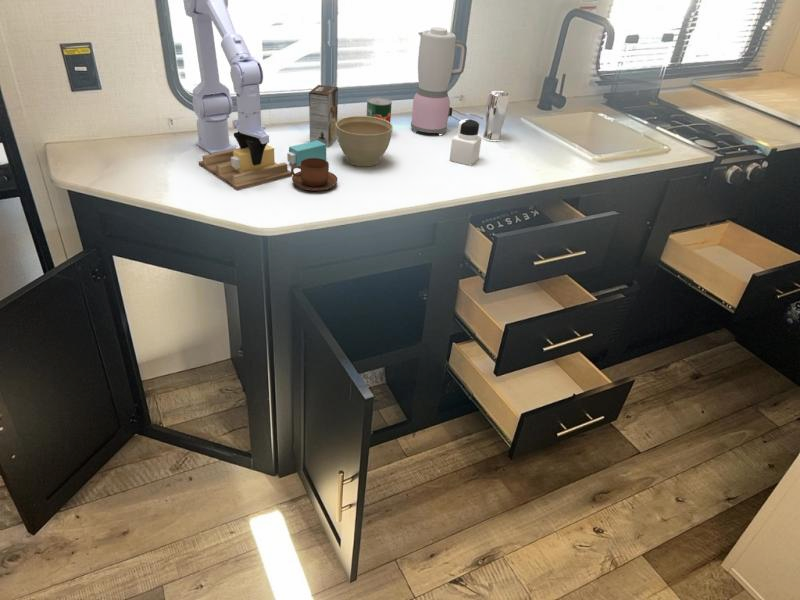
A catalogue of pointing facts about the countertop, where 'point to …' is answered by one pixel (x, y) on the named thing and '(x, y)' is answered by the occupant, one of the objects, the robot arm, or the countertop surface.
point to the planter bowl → (363, 139)
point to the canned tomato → (379, 108)
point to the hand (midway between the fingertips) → (252, 161)
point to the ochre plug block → (244, 161)
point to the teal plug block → (306, 152)
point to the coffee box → (323, 114)
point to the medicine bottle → (466, 143)
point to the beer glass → (495, 114)
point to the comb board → (223, 170)
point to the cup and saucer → (314, 175)
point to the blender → (435, 79)
